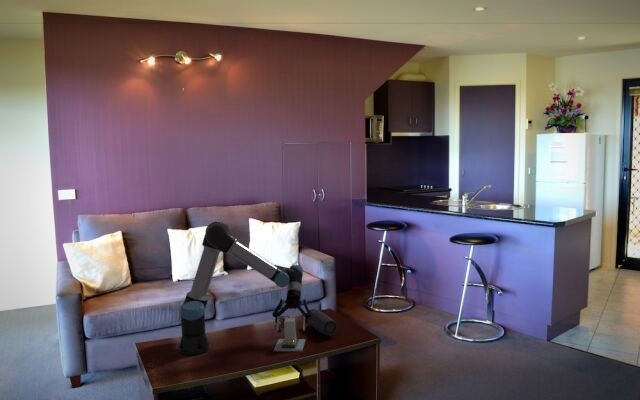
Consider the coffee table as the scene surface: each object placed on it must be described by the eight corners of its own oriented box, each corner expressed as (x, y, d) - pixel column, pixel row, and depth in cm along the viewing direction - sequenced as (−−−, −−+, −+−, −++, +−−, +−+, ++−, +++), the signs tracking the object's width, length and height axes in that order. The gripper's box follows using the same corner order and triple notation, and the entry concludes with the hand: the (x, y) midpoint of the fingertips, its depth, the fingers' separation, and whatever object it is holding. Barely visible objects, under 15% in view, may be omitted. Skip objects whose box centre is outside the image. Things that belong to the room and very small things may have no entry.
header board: (274, 351, 261) (274, 349, 261) (278, 340, 275) (278, 338, 275) (302, 351, 260) (302, 349, 260) (305, 341, 274) (305, 338, 273)
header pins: (281, 348, 262) (281, 340, 261) (282, 346, 263) (281, 339, 263) (295, 348, 261) (295, 340, 261) (295, 347, 263) (295, 339, 262)
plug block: (284, 344, 266) (284, 321, 265) (286, 340, 272) (286, 317, 271) (294, 344, 266) (293, 321, 265) (296, 340, 272) (295, 317, 271)
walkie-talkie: (275, 321, 307) (279, 332, 288) (274, 313, 307) (279, 325, 287) (289, 319, 309) (295, 331, 289) (289, 312, 308) (295, 323, 289)
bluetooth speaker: (305, 326, 296) (304, 309, 295) (320, 323, 300) (319, 306, 299) (322, 339, 276) (321, 320, 275) (338, 336, 279) (337, 318, 278)
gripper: (317, 295, 283) (315, 332, 269) (272, 295, 285) (267, 332, 272) (316, 288, 277) (314, 326, 263) (270, 288, 279) (265, 325, 266)
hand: (290, 329), depth 268 cm, fingers open, 13 cm apart
